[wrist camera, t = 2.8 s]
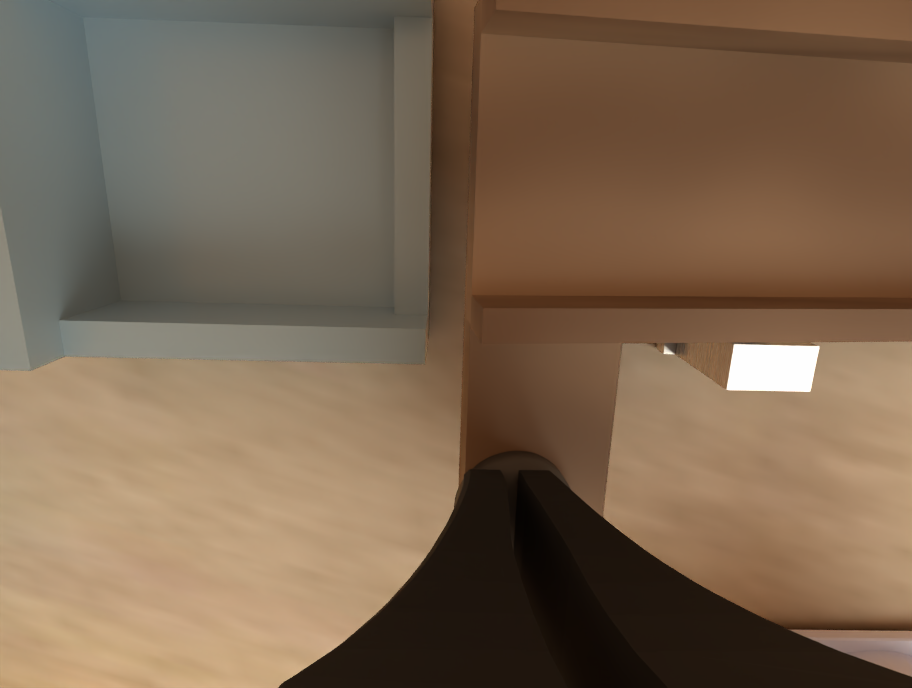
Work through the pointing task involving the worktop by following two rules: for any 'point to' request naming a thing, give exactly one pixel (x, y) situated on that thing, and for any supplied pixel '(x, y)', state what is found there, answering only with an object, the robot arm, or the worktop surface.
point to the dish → (215, 180)
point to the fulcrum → (751, 363)
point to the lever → (671, 202)
